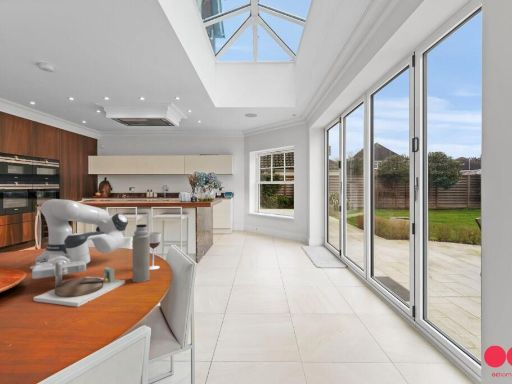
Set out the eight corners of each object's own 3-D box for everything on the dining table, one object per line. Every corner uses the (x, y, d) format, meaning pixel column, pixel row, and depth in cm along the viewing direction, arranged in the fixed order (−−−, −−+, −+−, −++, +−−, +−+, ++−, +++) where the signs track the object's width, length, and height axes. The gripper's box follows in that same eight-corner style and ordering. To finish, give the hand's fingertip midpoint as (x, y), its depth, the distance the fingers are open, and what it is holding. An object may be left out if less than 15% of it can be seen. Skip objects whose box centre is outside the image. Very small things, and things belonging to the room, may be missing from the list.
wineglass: (152, 270, 155) (152, 235, 155) (142, 268, 160) (142, 233, 160) (163, 267, 162) (164, 233, 162) (153, 264, 167) (154, 231, 166)
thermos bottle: (140, 276, 145) (140, 223, 145) (152, 278, 143) (153, 224, 142) (128, 281, 138) (129, 225, 137) (141, 283, 135) (142, 226, 135)
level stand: (33, 300, 112) (33, 282, 112) (87, 279, 139) (87, 264, 139) (77, 306, 108) (78, 287, 108) (124, 283, 134) (124, 268, 134)
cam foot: (111, 279, 134) (111, 255, 134) (103, 293, 117) (103, 265, 116) (63, 283, 128) (63, 257, 127) (46, 298, 110) (47, 268, 110)
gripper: (84, 269, 139) (88, 276, 128) (32, 276, 126) (31, 286, 115) (84, 256, 139) (88, 263, 128) (32, 263, 126) (31, 271, 115)
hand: (61, 274), depth 121 cm, fingers closed
